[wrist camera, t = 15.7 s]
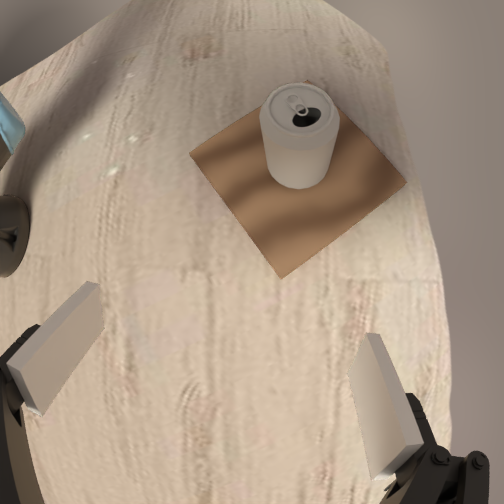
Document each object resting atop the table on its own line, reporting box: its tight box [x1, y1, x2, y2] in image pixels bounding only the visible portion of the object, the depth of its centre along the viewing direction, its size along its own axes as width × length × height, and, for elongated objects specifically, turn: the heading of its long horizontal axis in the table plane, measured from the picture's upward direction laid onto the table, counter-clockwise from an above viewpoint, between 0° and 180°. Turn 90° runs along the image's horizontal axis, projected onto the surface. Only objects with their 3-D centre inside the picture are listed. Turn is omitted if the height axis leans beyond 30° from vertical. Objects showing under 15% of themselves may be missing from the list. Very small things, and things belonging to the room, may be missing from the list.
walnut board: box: [189, 80, 407, 279], centre depth 36 cm, size 20×20×1 cm
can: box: [259, 82, 340, 189], centre depth 30 cm, size 8×8×12 cm
